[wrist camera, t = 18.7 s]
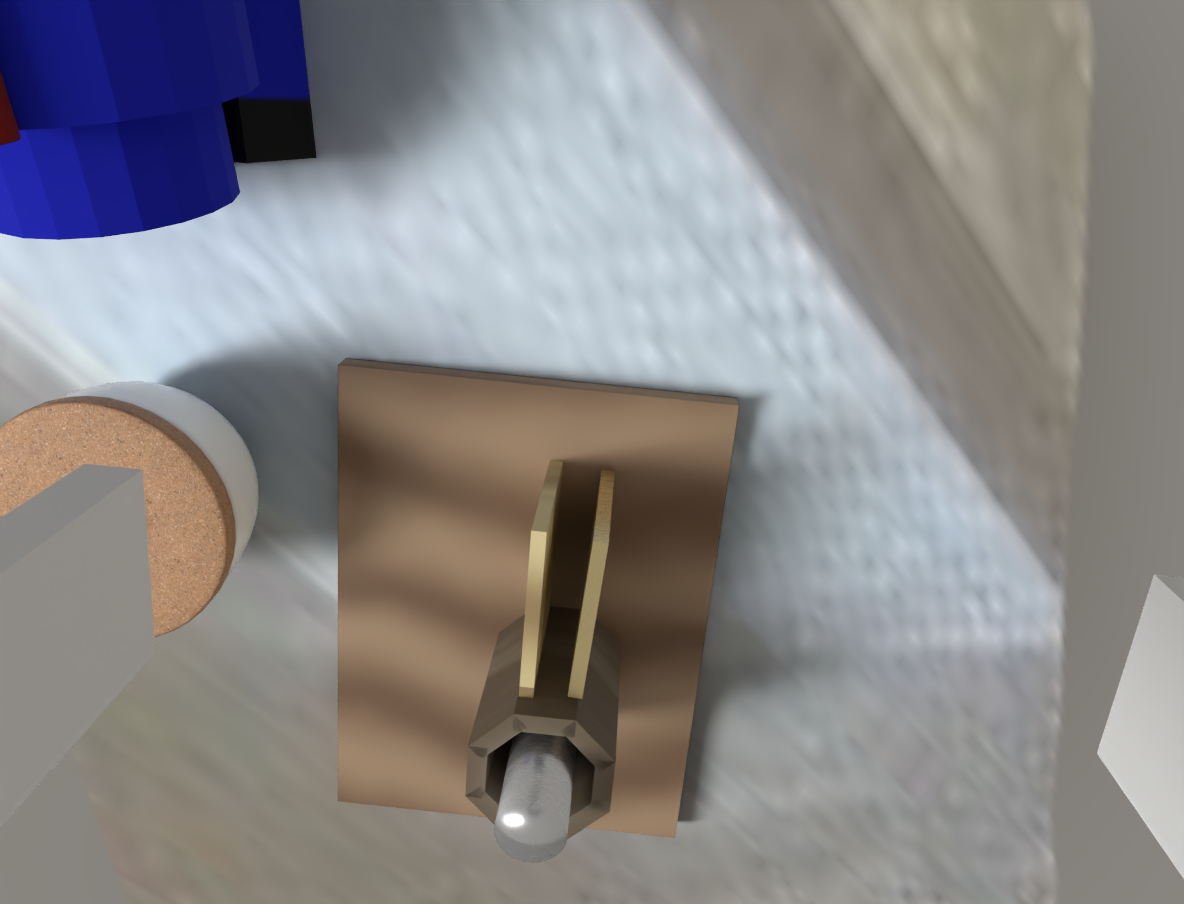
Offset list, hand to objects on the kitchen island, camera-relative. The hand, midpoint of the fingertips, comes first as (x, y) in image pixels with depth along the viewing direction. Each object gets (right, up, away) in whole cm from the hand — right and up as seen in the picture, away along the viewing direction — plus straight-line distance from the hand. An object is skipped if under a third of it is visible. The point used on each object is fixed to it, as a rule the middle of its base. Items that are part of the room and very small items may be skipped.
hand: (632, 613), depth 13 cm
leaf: (0, -2, +33) cm, 33 cm away
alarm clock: (-18, +19, +28) cm, 39 cm away
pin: (-2, -8, +36) cm, 37 cm away
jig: (-4, -6, +36) cm, 37 cm away
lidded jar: (-20, +2, +34) cm, 40 cm away
